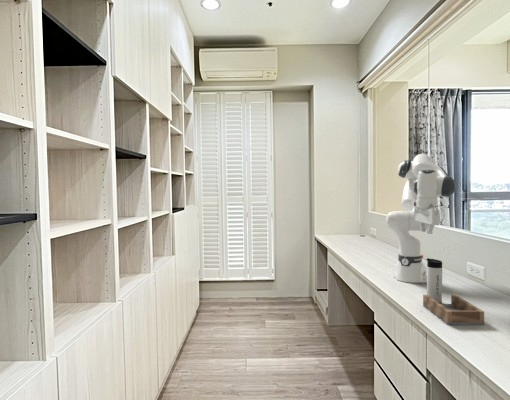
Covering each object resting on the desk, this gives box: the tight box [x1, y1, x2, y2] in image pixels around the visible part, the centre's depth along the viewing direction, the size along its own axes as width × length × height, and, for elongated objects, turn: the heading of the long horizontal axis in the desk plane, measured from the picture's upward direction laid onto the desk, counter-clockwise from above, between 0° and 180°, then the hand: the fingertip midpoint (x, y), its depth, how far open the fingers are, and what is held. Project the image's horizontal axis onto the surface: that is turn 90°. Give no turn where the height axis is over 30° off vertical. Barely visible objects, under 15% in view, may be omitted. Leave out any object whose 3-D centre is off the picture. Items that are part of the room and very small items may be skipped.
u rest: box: [422, 293, 485, 326], centre depth 155 cm, size 22×14×5 cm, turn 179°
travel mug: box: [425, 258, 443, 304], centre depth 170 cm, size 6×7×20 cm
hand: (426, 232), depth 178 cm, fingers open, 5 cm apart
